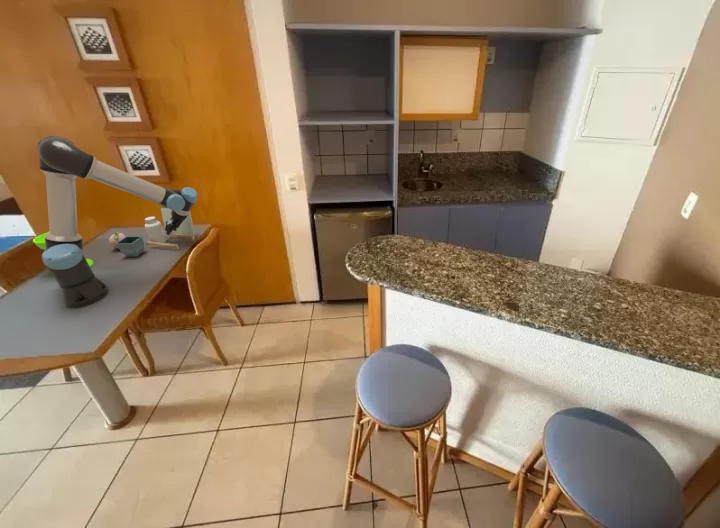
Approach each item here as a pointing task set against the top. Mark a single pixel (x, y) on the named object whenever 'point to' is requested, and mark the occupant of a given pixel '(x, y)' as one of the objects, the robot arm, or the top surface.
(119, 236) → the decorative fruit
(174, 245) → the tan wooden pieces
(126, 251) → the flower pot
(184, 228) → the panel
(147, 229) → the pill bottle
